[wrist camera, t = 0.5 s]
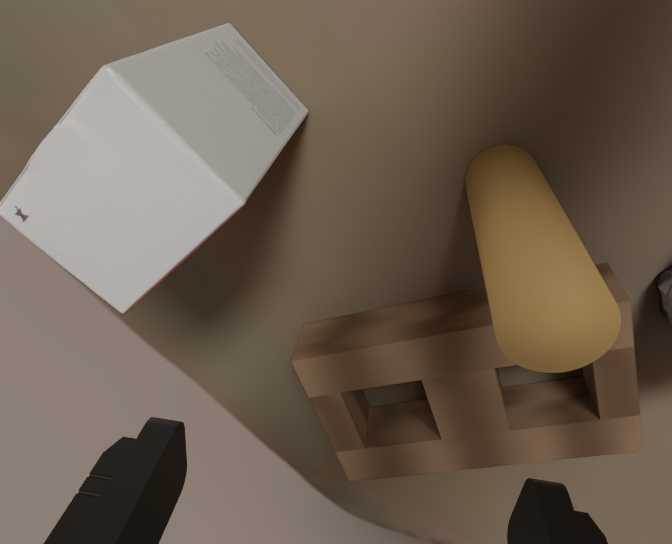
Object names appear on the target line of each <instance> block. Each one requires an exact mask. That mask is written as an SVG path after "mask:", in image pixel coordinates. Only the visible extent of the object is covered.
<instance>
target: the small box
mask: <svg viewBox="0 0 672 544" xmlns="http://www.w3.org/2000/svg"><path fill="white" fill-rule="evenodd" d="M307 114H308V110H307V108H306V107H305V106H304V105H303V104H302V103H301V102H300V101H299V100H298V99H297V98H296V96H295V95H294V94H293V93H292V92H291V91H290V90H289V89H288V88H287V86H286V85H285V84H284V83H283V82H282V81H281V80H280V79H279V78H278V77H277V75H276V74H275V73H274V72H273V71H272V70H271V69H270V68H269V67H268V65H267V64H266V63H265V62H264V61H263V60H262V59H261V57H260V56H259V55H258V54H257V53H256V52H255V51H254V50H253V49H252V47H251V46H250V45H249V44H248V43H247V42H246V41H245V40H244V39H243V37H242V36H241V35H240V34H239V33H238V32H237V31H236V30H235V28H234V27H233V26H232V25H231V24H230V23H226V24H223V25H221V26H218V27H215V28H212V29H209V30H206V31H203V32H200V33H197V34H194V35H191V36H188V37H185V38H182V39H179V40H176V41H173V42H170V43H168V44H165V45H162V46H159V47H156V48H153V49H150V50H147V51H145V52H142V53H138V54H135V55H132V56H129V57H126V58H123V59H121V60H118V61H115V62H112V63H109V64H106V65H104V66H103V67H102V68H100V70H99V71H98V72H97V73H96V75H95V76H94V77H93V78H92V80H91V81H90V82H89V83H88V85H87V86H86V87H85V88H84V90H83V91H82V92H81V94H80V95H79V96H78V97H77V99H76V100H75V101H74V103H73V104H72V105H71V107H70V108H69V109H68V110H67V112H66V113H65V114H64V116H63V117H62V118H61V120H60V121H59V122H58V123H57V125H56V126H55V127H54V128H53V130H52V131H51V132H50V133H49V134H48V135H47V136H46V138H45V139H44V140H43V141H42V142H41V144H40V145H39V146H38V148H37V149H36V151H35V152H34V154H33V155H32V156H31V158H30V159H29V161H28V163H27V165H26V167H25V168H24V170H23V171H22V173H21V174H20V176H19V177H18V178H17V180H16V181H15V183H14V184H13V185H12V187H11V188H10V190H9V191H8V193H7V194H6V195H5V197H4V198H3V199H2V201H1V202H0V215H1V216H2V217H3V218H4V219H6V220H7V221H8V222H9V223H10V224H11V225H13V226H14V227H15V228H16V229H17V230H18V231H20V232H21V233H22V234H23V235H24V236H26V237H27V238H28V239H29V240H30V241H32V242H33V243H34V244H35V245H37V246H38V247H39V248H40V249H41V250H43V251H44V252H45V253H46V254H48V255H49V256H50V257H51V258H53V259H54V260H55V261H56V262H58V263H59V264H60V265H61V266H63V267H64V268H65V269H66V270H68V271H69V272H70V273H71V274H73V275H74V276H75V277H76V278H78V279H79V280H80V281H82V282H83V283H84V284H85V285H87V286H88V287H89V288H90V289H92V290H93V291H94V292H95V293H96V294H98V295H99V296H100V297H102V298H103V299H104V300H105V301H107V302H108V303H109V304H111V305H112V306H113V307H114V308H116V309H117V310H118V311H119V312H121V313H122V314H125V313H127V312H128V311H129V310H130V309H132V308H133V307H134V306H135V305H136V304H137V303H138V302H139V301H141V300H142V299H143V298H144V297H145V296H146V295H147V294H148V293H149V292H151V291H152V290H153V289H154V288H155V287H156V286H157V285H158V284H160V283H161V282H162V281H163V280H164V279H165V278H166V277H167V276H168V275H169V274H170V273H171V272H173V271H174V270H175V269H176V268H177V267H178V266H179V265H180V264H181V263H182V262H184V261H185V260H186V259H187V258H188V257H189V256H190V255H191V254H192V253H193V252H195V251H196V250H197V249H198V248H199V247H200V246H201V245H202V244H203V243H204V242H205V241H206V240H207V239H209V238H210V237H211V236H212V235H213V234H214V233H215V232H216V231H217V230H218V229H220V228H221V227H222V226H223V225H224V224H225V223H226V222H227V221H228V220H229V219H231V218H232V217H233V216H234V215H235V214H236V213H237V212H238V211H239V210H240V209H241V208H242V207H243V206H244V205H245V204H246V201H247V200H248V198H249V197H250V195H251V194H252V192H253V191H254V189H255V188H256V187H257V185H258V184H259V182H260V181H261V180H262V178H263V177H264V175H265V174H266V172H267V171H268V169H269V168H270V167H271V165H272V164H273V162H274V161H275V159H276V158H277V157H278V155H279V154H280V152H281V151H282V150H283V148H284V147H285V145H286V144H287V142H288V141H289V140H290V138H291V137H292V135H293V134H294V133H295V131H296V130H297V128H298V127H299V126H300V124H301V123H302V121H303V120H304V119H305V117H306V116H307Z"/></svg>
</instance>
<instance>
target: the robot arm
mask: <svg viewBox="0 0 672 544" xmlns="http://www.w3.org/2000/svg"><path fill="white" fill-rule="evenodd" d="M186 471H187V458H186V441H185V427H184V423H183V422H180V421H173V420H167V419H161V418H153V417H151V418H150V419H149V420H148V421H147V422H146V424H145V425H144V427H143V429H142V430H141V432H140V434H139V435H138V437H137V439H134V438H127V437H122V438H121V439H120V440H118V441H117V442H116V443H115V444H113V445H112V446H111V447H110V448H108V449H107V450H106V451H105V452H103V454H102V455H101V457H100V458H99V460H98V461H97V463H96V464H95V466H94V467H93V469H92V470H91V472H90V476H89V477H87V478H86V480H85V481H84V483H83V484H82V486H81V487H80V489H79V492H78V494H76V495H75V497H74V498H73V500H72V501H71V503H70V504H69V506H68V507H67V509H66V511H65V512H64V513H63V515H62V516H61V518H60V520H59V521H58V523H57V524H56V526H55V527H54V529H53V530H52V532H51V533H50V535H49V536H48V538H47V540H46V541H45V543H44V544H158V543H159V541H160V539H161V537H162V534H163V532H164V530H165V528H166V525H167V523H168V521H169V519H170V516H171V514H172V512H173V510H174V508H175V505H176V503H177V501H178V499H179V496H180V494H181V491H182V489H183V485H184V482H185V477H186ZM507 541H508V544H608V543H607V540H606V537H605V535H604V534H603V533H602V532H601V530H600V529H599V528H598V526H597V525H596V524H595V522H594V521H593V520H592V518H591V517H590V516H589V514H588V513H584V512H578V511H574V509H573V506H572V503H571V500H570V497H569V494H568V491H567V489H566V487H565V486H564V485H563V484H561V483H556V482H549V481H543V480H537V479H531V478H528V479H527V480H526V481H525V483H524V485H523V488H522V490H521V493H520V495H519V498H518V500H517V503H516V505H515V507H514V510H513V512H512V515H511V517H510V520H509V524H508V533H507Z"/></svg>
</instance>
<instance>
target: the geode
mask: <svg viewBox="0 0 672 544" xmlns="http://www.w3.org/2000/svg"><path fill="white" fill-rule="evenodd" d="M655 280H656V284H657V288H658V291H659V296H660V312H661V313H662V314H663V315H664V316H666V318H667V320H668V322H669V324H670V325H671V326H672V267H671V268H669V269H667V270H666V271H664V272H662V273H661V274H660V275H659V276H658V277H656V278H655Z"/></svg>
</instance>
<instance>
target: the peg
mask: <svg viewBox="0 0 672 544" xmlns="http://www.w3.org/2000/svg"><path fill="white" fill-rule="evenodd" d="M465 186H466V192H467V196H468V201H469V206H470V211H471V216H472V221H473V226H474V231H475V236H476V241H477V246H478V251H479V256H480V261H481V266H482V271H483V276H484V281H485V286H486V291H487V296H488V301H489V306H490V311H491V316H492V321H493V326H494V331H495V336H496V340H497V343H498V345H499V347H500V349H501V351H502V352H503V353H504V355H505V356H506V357H507V358H508V359H510V360H511V361H512V362H514V363H515V364H517V365H519V366H521V367H523V368H525V369H528V370H532V371H536V372H543V373H560V372H567V371H572V370H575V369H579V368H581V367H584V366H586V365H588V364H590V363H592V362H594V361H595V360H597V359H599V358H600V357H601V356H602V355H604V354H605V353H606V352H607V351H608V350H609V349H610V348H611V346H612V345H613V344H614V342H615V340H616V339H617V337H618V334H619V331H620V327H621V314H620V310H619V307H618V305H617V303H616V301H615V299H614V298H613V296H612V294H611V292H610V291H609V289H608V287H607V285H606V284H605V282H604V280H603V278H602V277H601V275H600V273H599V271H598V270H597V268H596V266H595V264H594V263H593V261H592V259H591V257H590V256H589V254H588V252H587V250H586V249H585V247H584V245H583V243H582V242H581V240H580V238H579V237H578V235H577V233H576V231H575V230H574V228H573V226H572V224H571V223H570V221H569V219H568V217H567V216H566V214H565V212H564V210H563V209H562V207H561V205H560V203H559V202H558V200H557V198H556V196H555V195H554V193H553V191H552V189H551V188H550V186H549V184H548V182H547V181H546V179H545V177H544V175H543V174H542V172H541V170H540V168H539V167H538V165H537V163H536V161H535V160H534V158H533V157H532V156H531V154H530V153H529V152H527V151H526V150H525V149H523V148H521V147H519V146H515V145H510V144H501V145H496V146H492V147H490V148H487V149H485V150H484V151H482V152H481V153H479V154H478V155H477V156H476V157H475V158H474V159H473V161H472V162H471V163H470V165H469V167H468V169H467V172H466V176H465Z"/></svg>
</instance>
